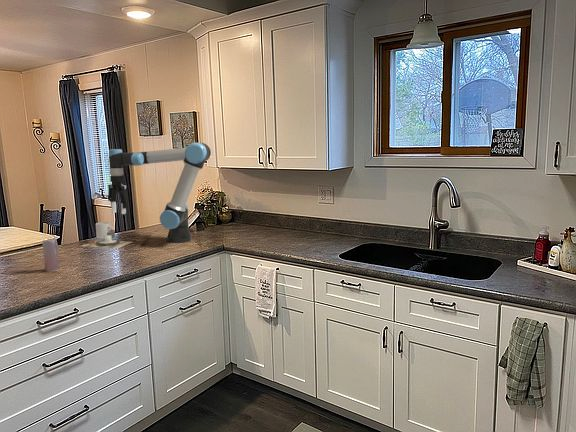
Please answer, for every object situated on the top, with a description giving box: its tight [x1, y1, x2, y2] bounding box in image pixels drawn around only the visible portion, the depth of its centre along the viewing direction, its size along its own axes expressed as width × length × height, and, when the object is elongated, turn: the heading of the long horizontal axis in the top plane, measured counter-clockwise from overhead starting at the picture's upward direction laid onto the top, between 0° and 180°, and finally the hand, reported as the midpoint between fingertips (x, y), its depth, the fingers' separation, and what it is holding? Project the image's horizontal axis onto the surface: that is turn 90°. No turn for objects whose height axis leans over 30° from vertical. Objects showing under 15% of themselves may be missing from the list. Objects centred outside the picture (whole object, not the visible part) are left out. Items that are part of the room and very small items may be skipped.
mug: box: [95, 221, 114, 240], centre depth 279 cm, size 12×8×10 cm
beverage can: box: [42, 238, 60, 273], centre depth 210 cm, size 6×6×15 cm
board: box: [82, 238, 133, 249], centre depth 262 cm, size 24×17×3 cm
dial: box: [99, 228, 117, 243], centre depth 264 cm, size 15×10×7 cm, turn 4°
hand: (118, 213), depth 264 cm, fingers open, 8 cm apart
